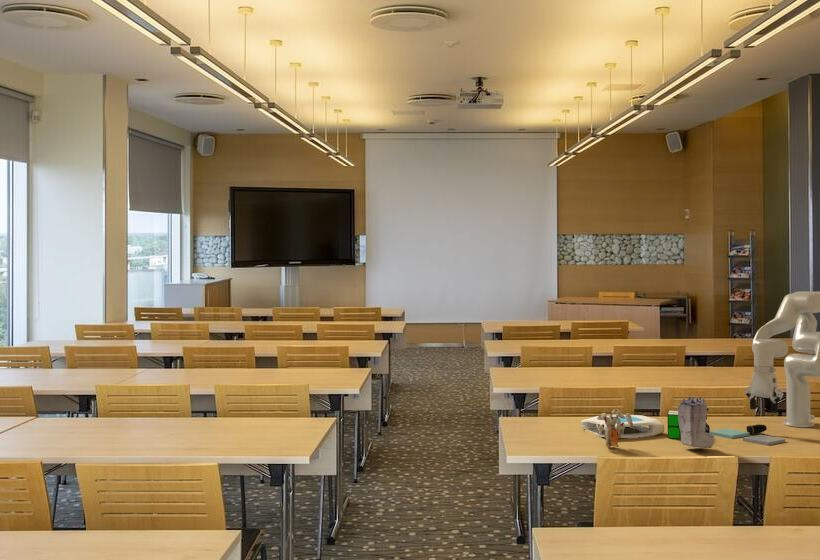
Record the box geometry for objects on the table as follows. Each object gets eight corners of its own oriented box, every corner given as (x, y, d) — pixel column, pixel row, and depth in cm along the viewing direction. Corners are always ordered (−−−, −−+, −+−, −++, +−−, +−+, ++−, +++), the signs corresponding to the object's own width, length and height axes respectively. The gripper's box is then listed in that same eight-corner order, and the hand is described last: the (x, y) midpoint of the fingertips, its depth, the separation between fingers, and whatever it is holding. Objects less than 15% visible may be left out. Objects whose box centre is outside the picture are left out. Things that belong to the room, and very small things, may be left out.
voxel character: (621, 444, 320) (620, 406, 320) (634, 449, 311) (634, 410, 311) (595, 446, 317) (595, 407, 317) (608, 451, 308) (608, 411, 308)
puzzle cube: (693, 435, 338) (693, 411, 338) (693, 439, 329) (693, 415, 329) (668, 433, 342) (668, 410, 342) (667, 438, 332) (667, 414, 332)
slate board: (760, 437, 333) (760, 434, 333) (785, 442, 324) (785, 439, 324) (742, 440, 326) (742, 437, 326) (767, 445, 317) (767, 442, 317)
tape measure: (768, 432, 337) (766, 423, 337) (755, 434, 334) (753, 425, 335) (756, 433, 343) (754, 424, 344) (744, 435, 340) (742, 426, 341)
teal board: (726, 431, 346) (726, 428, 346) (749, 435, 337) (749, 432, 337) (709, 434, 340) (709, 431, 340) (731, 438, 331) (731, 435, 331)
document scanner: (580, 431, 349) (580, 416, 349) (635, 427, 358) (635, 413, 358) (607, 440, 329) (607, 425, 329) (665, 436, 338) (665, 421, 338)
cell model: (718, 450, 308) (718, 398, 308) (692, 452, 306) (692, 399, 306) (700, 444, 320) (700, 393, 320) (675, 445, 319) (675, 394, 318)
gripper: (788, 371, 333) (788, 412, 333) (750, 367, 347) (750, 407, 347) (777, 372, 329) (777, 414, 329) (739, 368, 343) (739, 408, 343)
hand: (763, 410), depth 338 cm, fingers open, 9 cm apart
